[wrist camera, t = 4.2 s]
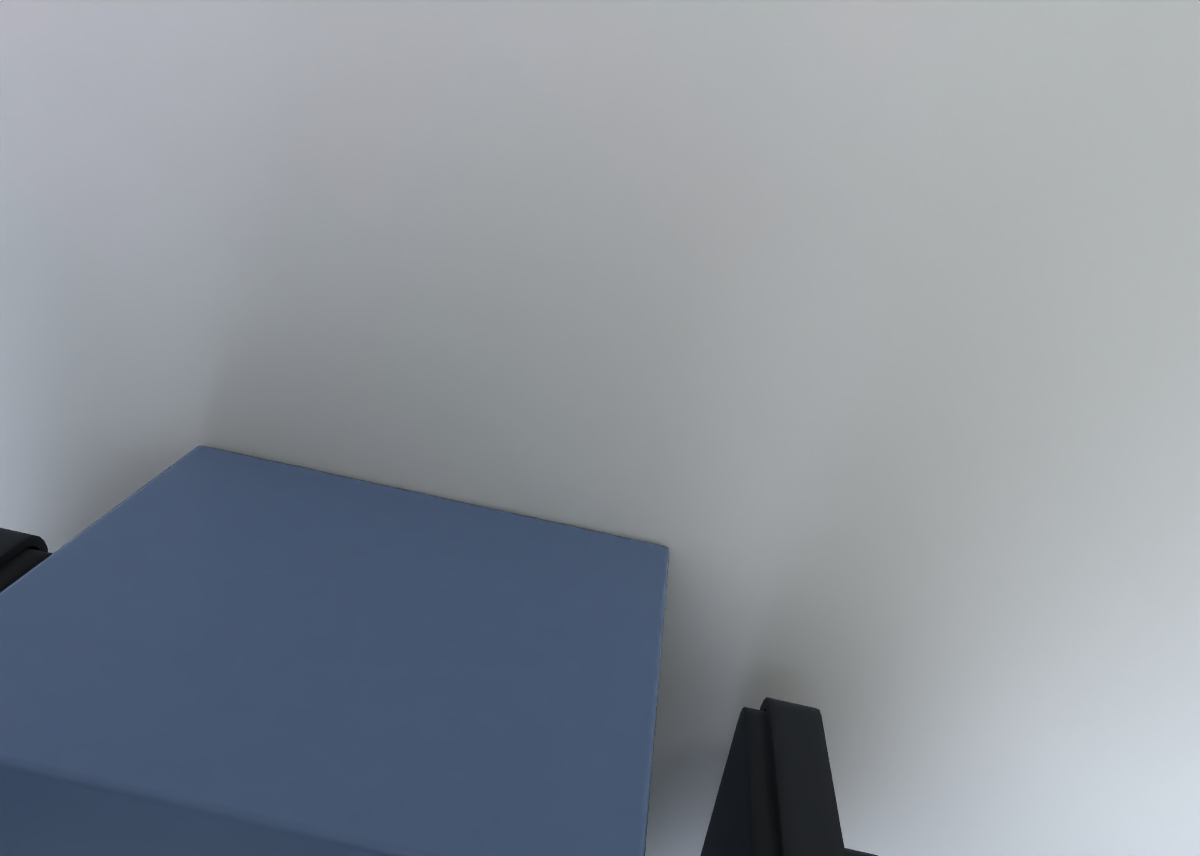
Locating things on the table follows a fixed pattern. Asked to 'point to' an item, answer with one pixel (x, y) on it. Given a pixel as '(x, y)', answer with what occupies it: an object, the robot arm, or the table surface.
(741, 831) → the robot arm
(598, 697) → the blue cube
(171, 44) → the table surface
